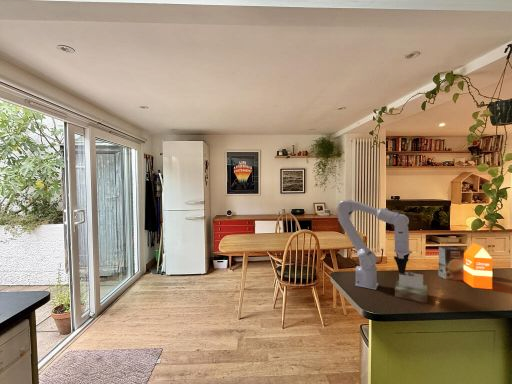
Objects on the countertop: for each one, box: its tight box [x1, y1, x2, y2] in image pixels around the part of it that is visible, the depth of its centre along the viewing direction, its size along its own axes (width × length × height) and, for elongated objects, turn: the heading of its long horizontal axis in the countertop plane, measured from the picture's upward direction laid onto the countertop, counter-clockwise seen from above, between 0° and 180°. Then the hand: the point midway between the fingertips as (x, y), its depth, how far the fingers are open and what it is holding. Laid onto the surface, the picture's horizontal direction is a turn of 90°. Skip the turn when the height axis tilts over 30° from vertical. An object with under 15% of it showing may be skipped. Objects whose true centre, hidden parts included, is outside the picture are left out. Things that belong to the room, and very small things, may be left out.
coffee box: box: [437, 246, 465, 281], centre depth 134 cm, size 9×6×16 cm
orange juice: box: [463, 242, 493, 290], centre depth 124 cm, size 8×9×20 cm
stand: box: [394, 280, 428, 304], centre depth 112 cm, size 12×10×4 cm
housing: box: [398, 271, 424, 291], centre depth 112 cm, size 9×5×6 cm, turn 56°
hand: (402, 270), depth 115 cm, fingers open, 7 cm apart
